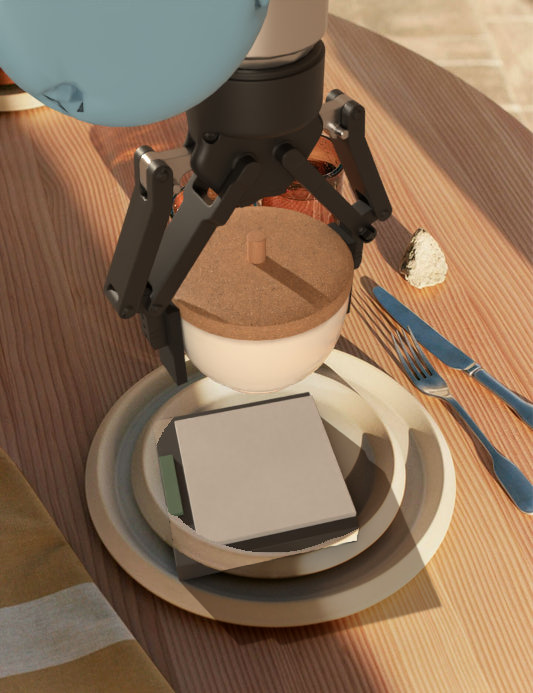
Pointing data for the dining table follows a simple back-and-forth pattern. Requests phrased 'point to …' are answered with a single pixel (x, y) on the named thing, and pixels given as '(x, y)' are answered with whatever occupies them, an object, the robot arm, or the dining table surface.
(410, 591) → the dining table surface
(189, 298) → the lidded bowl
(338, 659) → the dining table surface
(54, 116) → the dining table surface
